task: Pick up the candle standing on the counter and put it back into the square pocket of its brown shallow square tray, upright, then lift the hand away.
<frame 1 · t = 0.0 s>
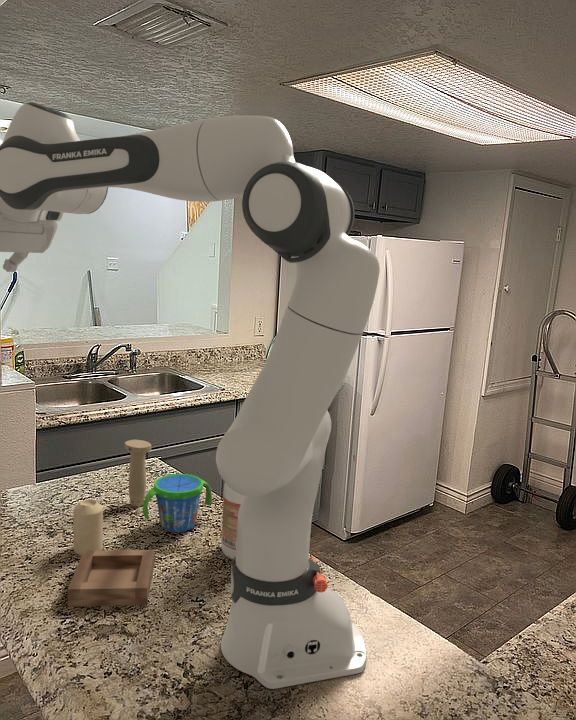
candle: (88, 550, 119), on the countertop
fruit juice: (243, 551, 122), on the countertop
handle: (137, 505, 140), on the countertop
brown shallow square tray: (113, 584, 107), on the countertop
snack cup: (177, 526, 131), on the countertop
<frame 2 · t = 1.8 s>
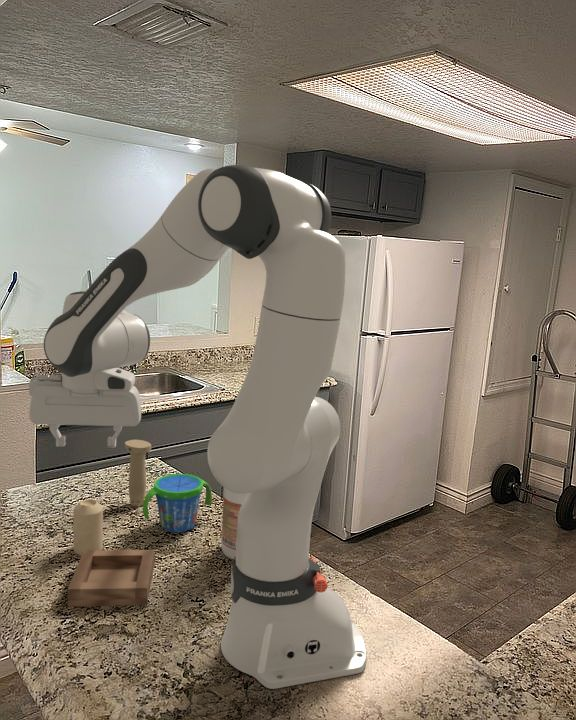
hand: (86, 446, 115), 21 cm above the countertop, tool pointing down, fingers open, 8 cm apart
nothing on the countertop moved.
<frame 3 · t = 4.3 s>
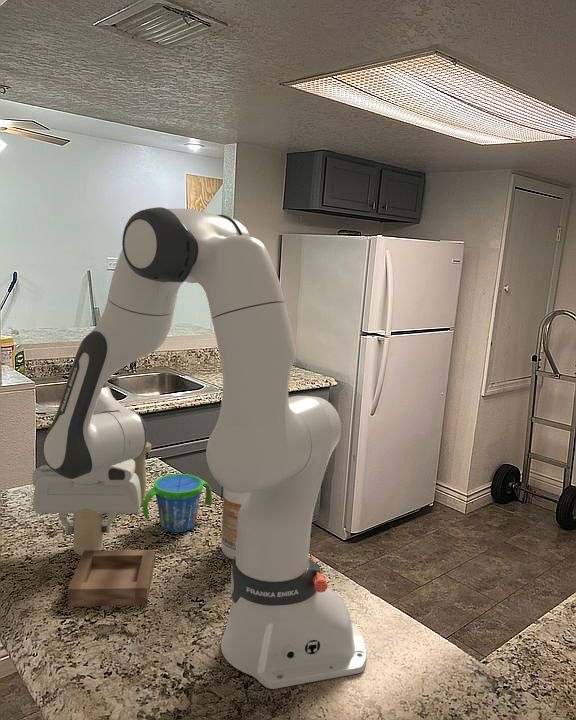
hand: (88, 532, 118), 4 cm above the countertop, tool pointing down, fingers closed on candle, 5 cm apart
candle: (88, 550, 119), on the countertop, touching gripper
everything else where it was.
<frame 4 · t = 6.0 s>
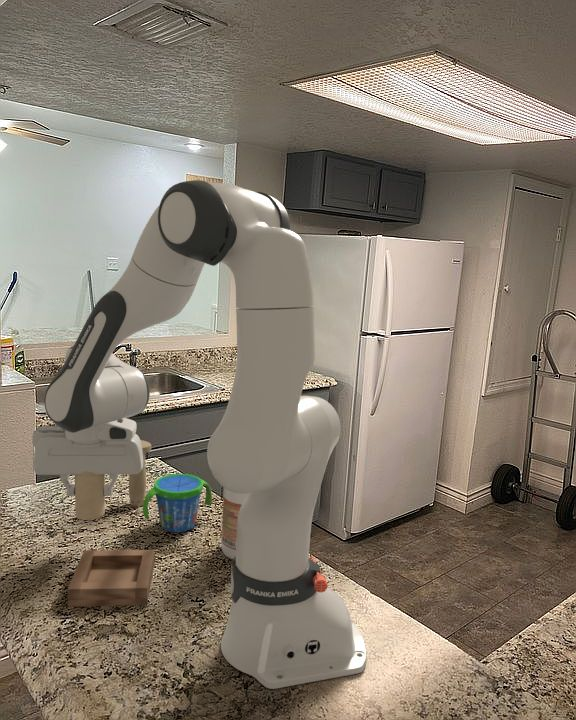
hand: (90, 494, 116), 12 cm above the countertop, tool pointing down, fingers closed on candle, 5 cm apart
candle: (90, 515, 117), point 7 cm above the countertop, touching gripper
everything else where it was.
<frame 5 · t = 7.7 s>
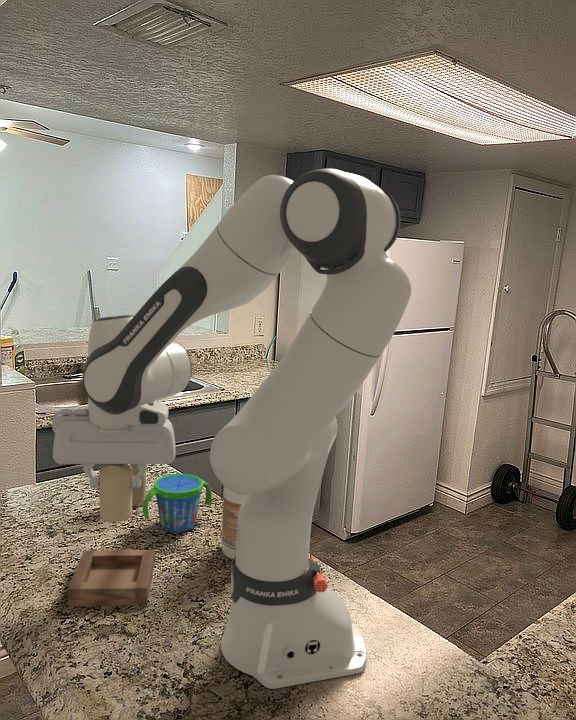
hand: (115, 486, 104), 19 cm above the countertop, tool pointing down, fingers closed on candle, 5 cm apart
candle: (116, 516, 105), point 13 cm above the countertop, touching gripper
everything else where it was.
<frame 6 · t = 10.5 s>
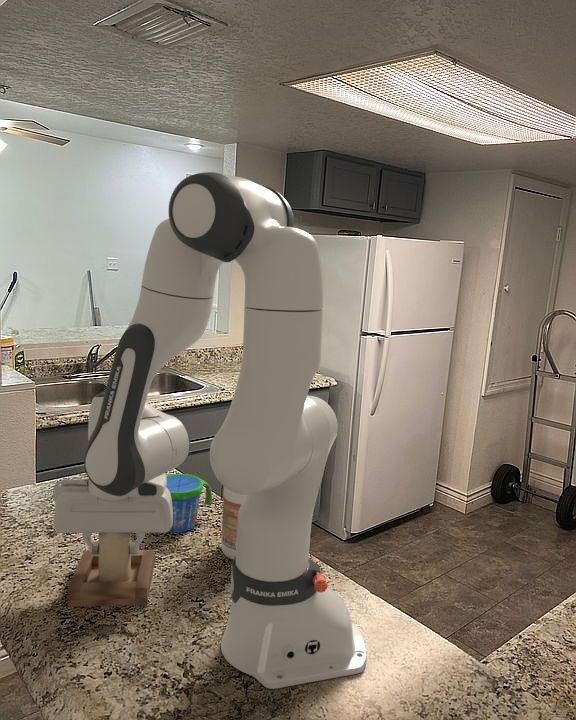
hand: (114, 553, 106), 6 cm above the countertop, tool pointing down, fingers closed on candle, 5 cm apart
candle: (114, 578, 107), point 1 cm above the countertop, touching brown shallow square tray, gripper
everything else where it was.
when the fingers open (6 cm above the countertop, at t = 11.1 s): candle stays where it is, resting on brown shallow square tray.
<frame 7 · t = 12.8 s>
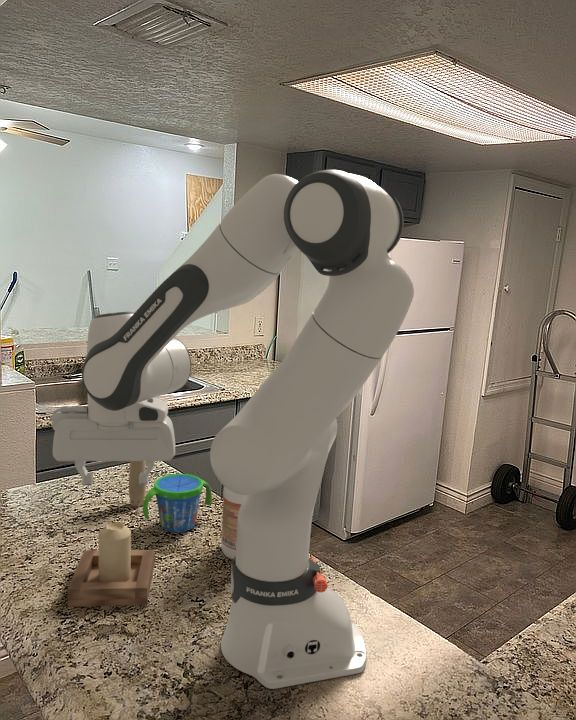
hand: (115, 483, 103), 19 cm above the countertop, tool pointing down, fingers open, 8 cm apart
candle: (114, 578, 107), point 1 cm above the countertop, touching brown shallow square tray
everything else where it was.
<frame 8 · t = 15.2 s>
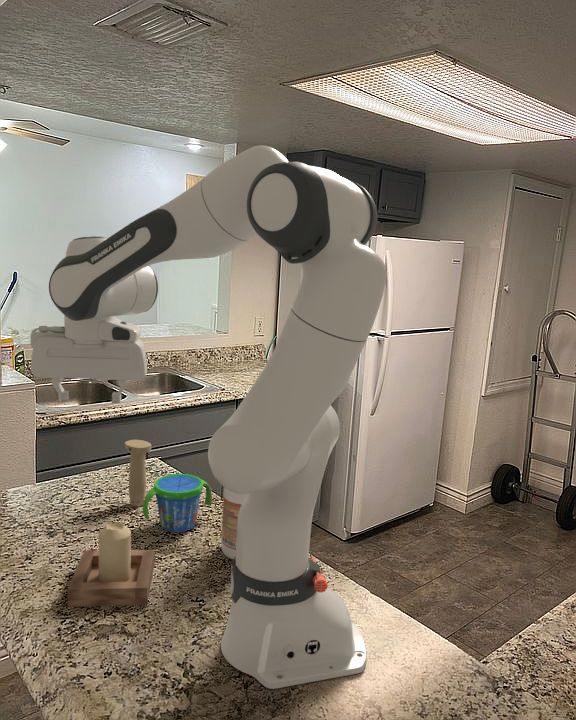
hand: (90, 401, 110), 31 cm above the countertop, tool pointing down, fingers open, 8 cm apart
nothing on the countertop moved.
at the end: candle 0.4 cm off-centre on the brown shallow square tray, point 1.0 cm above the brown shallow square tray's base; candle tilted 0°; the gripper is holding nothing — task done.
